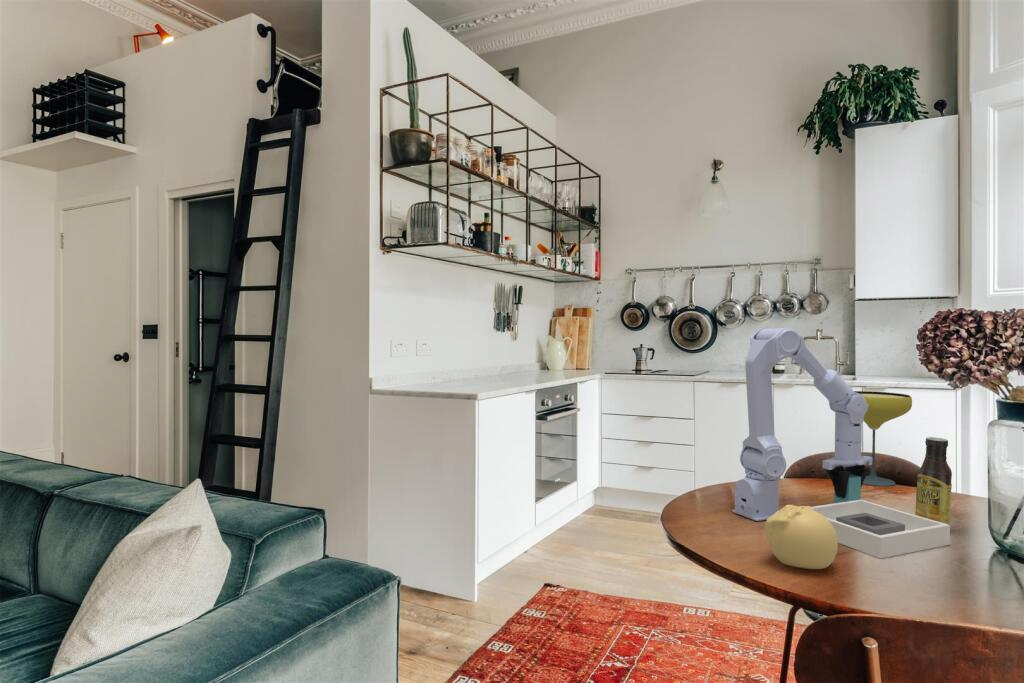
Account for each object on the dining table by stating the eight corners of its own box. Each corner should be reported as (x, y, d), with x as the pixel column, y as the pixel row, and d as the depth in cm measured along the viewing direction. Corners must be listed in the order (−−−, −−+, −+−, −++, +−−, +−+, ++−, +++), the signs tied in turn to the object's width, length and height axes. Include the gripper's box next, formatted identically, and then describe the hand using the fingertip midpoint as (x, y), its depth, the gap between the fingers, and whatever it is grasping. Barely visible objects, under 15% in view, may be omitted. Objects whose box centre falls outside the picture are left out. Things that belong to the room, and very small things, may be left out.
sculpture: (783, 547, 123) (783, 494, 123) (847, 565, 114) (847, 507, 114) (755, 562, 115) (755, 505, 115) (821, 582, 106) (822, 520, 106)
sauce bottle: (908, 525, 137) (909, 436, 136) (928, 522, 139) (929, 434, 138) (937, 534, 131) (939, 441, 130) (957, 531, 133) (959, 439, 132)
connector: (848, 511, 147) (849, 478, 147) (834, 506, 151) (834, 474, 151) (860, 509, 149) (860, 476, 149) (845, 505, 152) (846, 473, 152)
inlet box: (880, 558, 117) (881, 537, 117) (796, 527, 136) (796, 509, 136) (949, 544, 125) (950, 525, 125) (860, 516, 143) (860, 499, 143)
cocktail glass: (830, 482, 175) (831, 394, 174) (845, 471, 189) (846, 389, 188) (905, 493, 163) (906, 399, 163) (915, 480, 177) (916, 393, 177)
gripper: (840, 445, 143) (840, 503, 143) (884, 441, 149) (883, 497, 149) (815, 440, 150) (814, 496, 150) (858, 436, 155) (857, 490, 155)
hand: (847, 496), depth 150 cm, fingers closed on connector, 4 cm apart
